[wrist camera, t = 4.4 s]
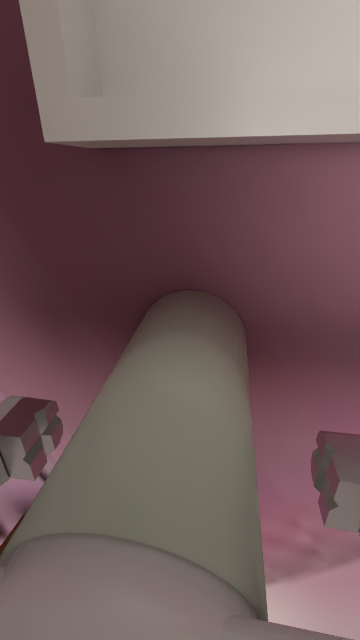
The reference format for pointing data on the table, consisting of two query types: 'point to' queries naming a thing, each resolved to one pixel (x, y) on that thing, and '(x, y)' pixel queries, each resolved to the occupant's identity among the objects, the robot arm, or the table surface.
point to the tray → (195, 71)
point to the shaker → (149, 495)
